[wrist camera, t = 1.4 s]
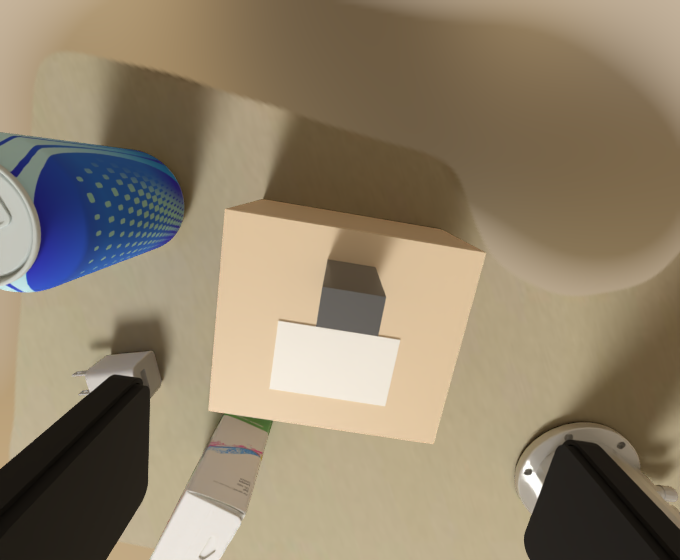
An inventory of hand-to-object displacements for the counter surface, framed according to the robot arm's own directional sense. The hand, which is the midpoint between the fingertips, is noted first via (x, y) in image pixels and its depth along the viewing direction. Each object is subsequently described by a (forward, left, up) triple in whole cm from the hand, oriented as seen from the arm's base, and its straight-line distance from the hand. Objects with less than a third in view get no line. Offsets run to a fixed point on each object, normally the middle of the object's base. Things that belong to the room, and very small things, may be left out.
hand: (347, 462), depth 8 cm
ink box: (+8, +22, -26) cm, 35 cm away
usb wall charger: (+20, +16, -27) cm, 37 cm away
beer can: (+18, -1, -26) cm, 32 cm away
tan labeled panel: (0, +4, -16) cm, 17 cm away
